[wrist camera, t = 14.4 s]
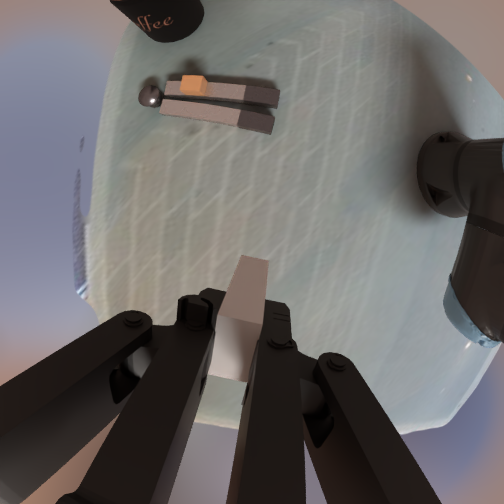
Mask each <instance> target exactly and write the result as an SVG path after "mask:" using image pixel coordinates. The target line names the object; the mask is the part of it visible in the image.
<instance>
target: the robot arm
mask: <svg viewBox="0 0 504 504" xmlns="http://www.w3.org/2000/svg"><path fill="white" fill-rule="evenodd" d="M417 178H418V183H419V187H420V190H421V193H422V195H423V197H424V199H425V200H426V202H427V203H428V205H429V206H430V207H431V208H432V209H433V210H435V211H436V212H438V213H440V214H442V215H445V216H448V217H452V218H459V217H464V216H468V217H467V221H466V225H465V229H464V233H463V237H462V240H461V244H460V247H459V251H458V254H457V257H456V260H455V263H454V266H453V269H452V272H451V274H450V275H449V279H448V282H449V283H448V286H447V289H446V292H445V295H444V299H443V305H444V309H445V313H446V315H447V317H448V319H449V320H450V322H451V323H452V324H453V325H454V327H455V328H456V329H457V330H458V331H459V332H460V333H462V334H463V335H464V336H465V337H466V338H468V339H469V340H471V341H472V342H474V343H479V344H480V345H481V346H483V347H486V348H493V347H495V346H497V345H498V344H499V343H500V342H503V343H504V138H493V139H478V140H473V139H470V138H468V137H466V136H464V135H461V134H459V133H456V132H441V133H437V134H434V135H432V136H431V137H430V138H429V139H428V140H427V141H426V142H425V143H424V145H423V146H422V148H421V151H420V153H419V157H418V162H417ZM471 224H472V225H471ZM479 227H480V228H479ZM482 228H483V229H482ZM487 230H488V231H487ZM492 232H493V233H492ZM268 262H269V261H267V260H263V259H258V258H253V257H249V256H244V255H241V258H240V260H239V262H238V265H237V267H236V270H235V272H234V275H233V277H232V280H231V282H230V285H229V287H228V290H227V292H225V291H220V290H216V289H212V288H206V289H204V290H203V291H201V292H200V294H199V295H186V296H182V297H181V298H180V299H178V308H177V320H176V322H175V324H174V325H170V326H160V325H152V319H151V317H150V316H149V315H147V314H146V313H143V312H140V311H135V310H130V311H124V312H122V313H119V314H117V315H116V316H114V317H112V318H111V319H109V320H107V321H106V322H104V323H102V324H101V325H99V326H97V327H96V328H94V329H93V330H91V331H89V332H87V333H86V334H84V335H82V336H81V337H79V338H78V339H76V340H74V341H73V342H71V343H69V344H68V345H66V346H64V347H63V348H61V349H59V350H58V351H56V352H54V353H53V354H51V355H50V356H48V357H46V358H45V359H43V360H41V361H40V362H38V363H37V364H35V365H34V366H32V367H30V368H29V369H27V370H25V371H24V372H22V373H21V374H19V375H17V376H16V377H14V378H12V379H11V380H9V381H8V382H6V383H5V384H3V385H1V386H0V504H20V503H21V502H22V501H23V500H25V499H26V498H27V497H28V496H30V495H31V494H32V493H33V492H34V491H35V490H37V489H38V488H39V487H40V486H41V485H42V484H43V483H44V482H46V481H47V480H48V479H49V478H50V477H51V476H52V475H54V473H56V472H57V471H58V470H59V469H60V468H61V467H62V466H63V465H65V464H66V463H67V462H68V461H69V460H70V459H71V458H72V457H73V456H75V455H76V454H77V453H78V452H79V451H80V450H81V449H82V448H83V447H84V446H85V445H86V444H88V442H90V441H91V440H92V439H93V438H94V437H95V436H96V435H97V434H98V433H99V432H100V431H101V430H103V429H104V428H105V427H106V426H107V425H108V424H109V423H110V422H111V421H112V420H113V419H114V418H115V417H116V416H117V415H118V414H119V413H120V415H119V416H118V418H117V420H116V421H115V423H114V425H113V427H112V428H111V430H110V432H109V434H108V435H107V437H106V439H105V441H104V443H103V444H102V446H101V448H100V450H99V451H98V453H97V455H96V457H95V459H94V460H93V462H92V464H91V466H90V468H89V469H88V471H87V473H86V475H85V477H84V479H83V480H82V482H81V484H80V486H79V487H78V489H77V490H76V491H75V492H73V493H69V494H65V495H63V496H62V497H61V498H59V499H58V501H57V502H56V504H168V501H169V497H170V495H171V491H172V488H173V485H174V482H175V479H176V476H177V472H178V469H179V466H180V463H181V460H182V457H183V453H184V450H185V447H186V444H187V441H188V438H189V435H190V431H191V428H192V425H193V422H194V419H195V416H196V413H197V410H198V407H199V404H200V400H201V397H202V394H203V391H204V388H205V385H206V380H207V373H208V370H209V373H208V374H211V375H215V376H219V377H224V378H228V379H233V380H238V381H242V382H248V383H247V386H246V390H245V393H244V397H243V401H242V404H241V405H243V407H242V413H241V419H240V425H239V432H238V438H237V443H236V449H235V455H234V461H233V467H232V472H231V479H230V485H229V490H228V495H227V501H226V504H306V487H305V486H306V483H305V456H304V441H305V444H306V446H307V449H308V452H309V455H310V457H311V460H312V463H313V466H314V468H315V471H316V474H317V477H318V480H319V482H320V485H321V488H322V491H323V493H324V496H325V499H326V501H327V504H442V503H441V502H440V500H439V498H438V497H437V495H436V493H435V492H434V490H433V488H432V487H431V485H430V483H429V482H428V480H427V478H426V477H425V475H424V473H423V472H422V470H421V468H420V467H419V465H418V464H417V462H416V460H415V459H414V457H413V455H412V454H411V452H410V451H409V449H408V448H407V446H406V444H405V443H404V441H403V439H402V438H401V436H400V435H399V433H398V432H397V430H396V428H395V427H394V425H393V424H392V422H391V421H390V419H389V417H388V416H387V414H386V413H385V411H384V410H383V408H382V407H381V405H380V403H379V402H378V400H377V399H376V397H375V396H374V394H373V393H372V391H371V390H370V388H369V387H368V385H367V383H366V382H365V380H364V379H363V377H362V376H361V374H360V373H359V371H358V370H357V368H356V367H355V365H354V364H353V363H352V362H351V360H350V359H348V358H347V357H345V356H343V355H341V354H338V353H332V352H328V353H323V354H322V355H320V356H319V358H318V360H317V359H314V358H311V357H308V356H306V355H304V354H302V353H301V352H299V351H298V348H297V344H296V342H295V341H294V340H293V339H292V333H291V322H290V321H291V319H290V309H289V308H288V307H287V305H286V304H285V303H281V302H276V301H271V300H266V299H265V295H266V284H267V273H268Z"/></svg>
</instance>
